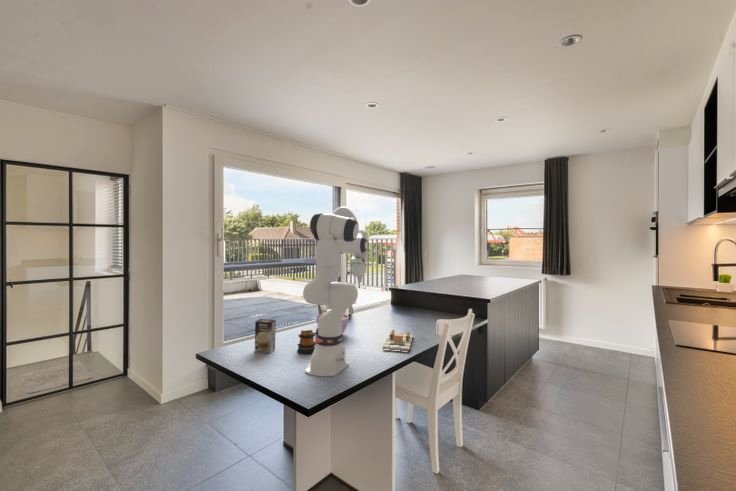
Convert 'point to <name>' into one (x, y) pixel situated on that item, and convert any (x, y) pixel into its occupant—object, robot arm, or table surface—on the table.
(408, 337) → the tunnel board
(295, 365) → the table surface
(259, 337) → the coffee box
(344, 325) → the bowl of food
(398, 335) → the block
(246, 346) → the table surface
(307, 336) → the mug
